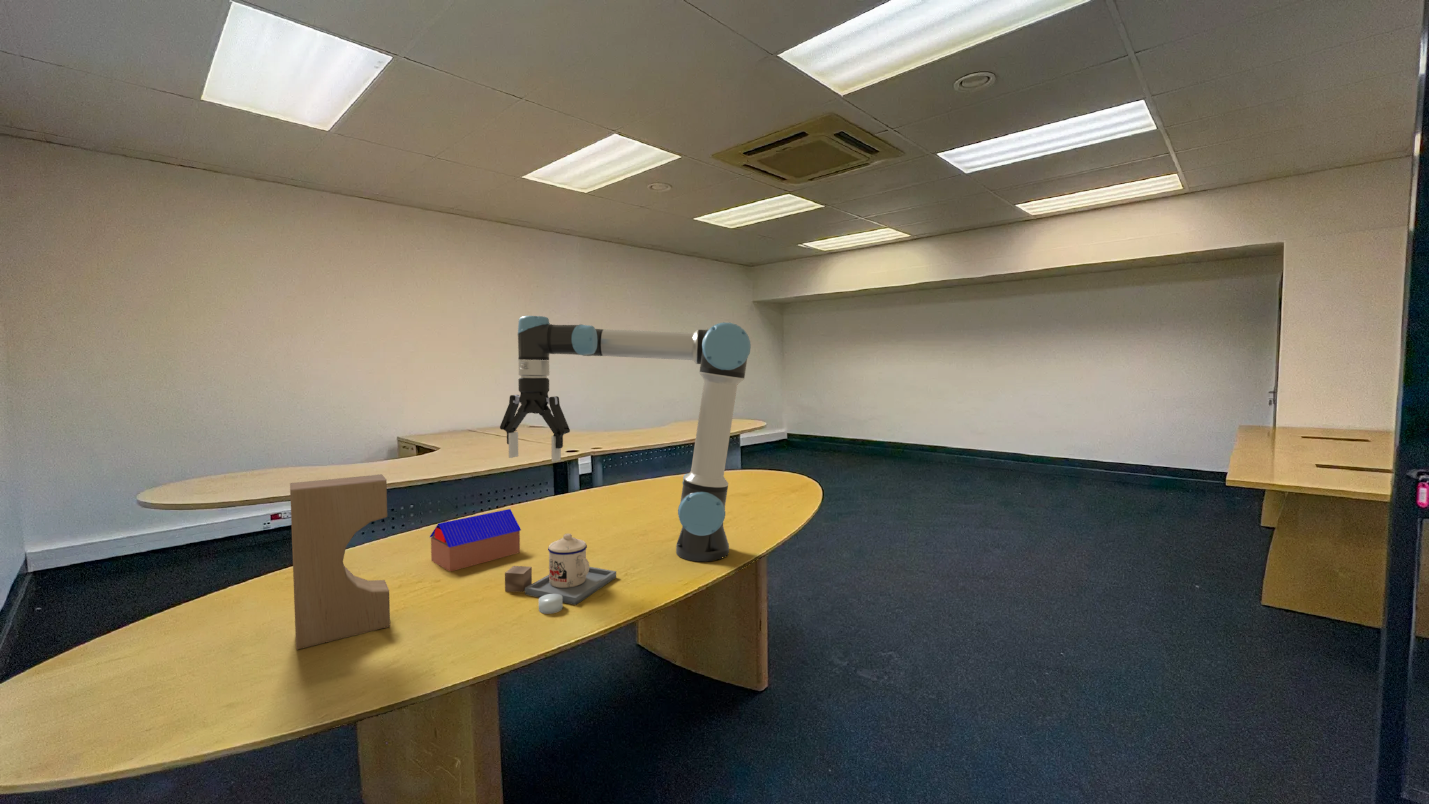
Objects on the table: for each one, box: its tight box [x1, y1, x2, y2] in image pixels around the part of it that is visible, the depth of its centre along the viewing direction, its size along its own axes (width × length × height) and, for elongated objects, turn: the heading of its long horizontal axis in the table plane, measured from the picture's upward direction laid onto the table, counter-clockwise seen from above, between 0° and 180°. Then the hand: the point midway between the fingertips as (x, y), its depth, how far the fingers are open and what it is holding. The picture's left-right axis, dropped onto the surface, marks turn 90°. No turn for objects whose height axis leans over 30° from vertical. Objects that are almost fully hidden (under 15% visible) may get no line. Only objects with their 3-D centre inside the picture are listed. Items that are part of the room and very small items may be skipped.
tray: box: [524, 566, 617, 606], centre depth 130 cm, size 14×17×2 cm
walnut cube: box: [504, 565, 533, 593], centre depth 128 cm, size 4×4×4 cm
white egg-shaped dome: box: [538, 594, 563, 615], centre depth 118 cm, size 5×5×2 cm
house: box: [429, 508, 522, 572], centre depth 148 cm, size 12×20×12 cm, turn 140°
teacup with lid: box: [547, 533, 590, 588], centre depth 130 cm, size 12×9×12 cm
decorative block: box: [289, 474, 391, 650], centre depth 106 cm, size 15×8×30 cm, turn 128°
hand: (534, 459), depth 139 cm, fingers open, 13 cm apart
